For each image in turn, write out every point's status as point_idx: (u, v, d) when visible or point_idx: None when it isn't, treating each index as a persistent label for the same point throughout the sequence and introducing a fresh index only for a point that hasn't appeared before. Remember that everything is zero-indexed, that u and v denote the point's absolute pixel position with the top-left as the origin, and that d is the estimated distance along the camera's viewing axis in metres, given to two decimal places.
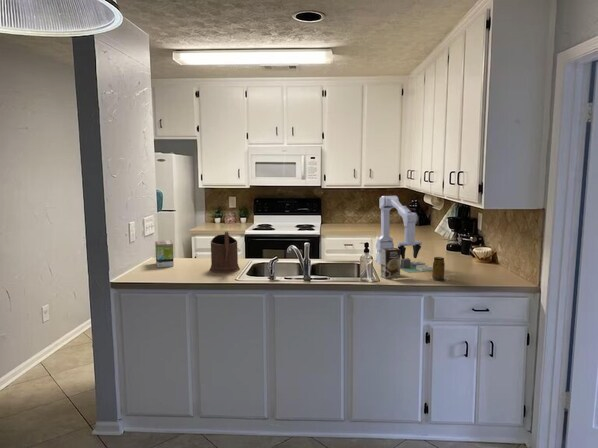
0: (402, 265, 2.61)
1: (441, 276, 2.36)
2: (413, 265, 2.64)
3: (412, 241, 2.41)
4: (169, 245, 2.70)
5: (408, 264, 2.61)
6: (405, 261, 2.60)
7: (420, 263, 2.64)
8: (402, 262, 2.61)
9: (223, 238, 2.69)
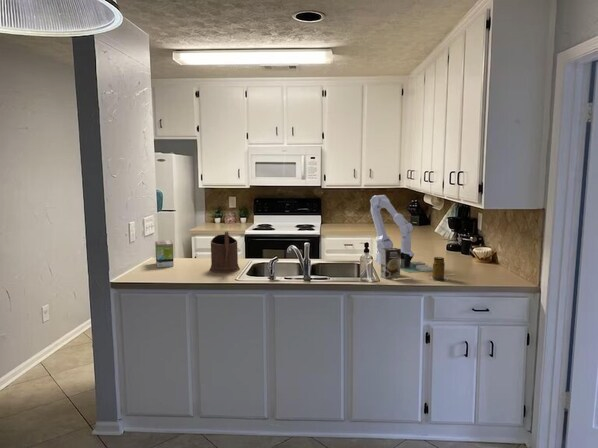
0: (402, 265, 2.61)
1: (441, 276, 2.36)
2: (413, 265, 2.64)
3: (401, 249, 2.60)
4: (169, 245, 2.70)
5: None
6: None
7: (420, 263, 2.64)
8: (402, 262, 2.61)
9: (223, 238, 2.69)
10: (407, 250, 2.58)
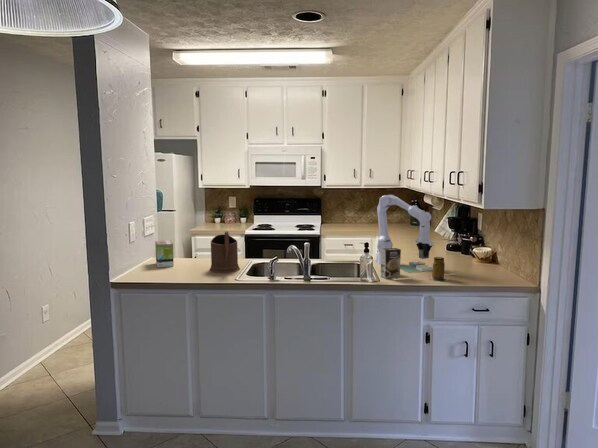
0: (421, 255, 2.55)
1: (441, 276, 2.36)
2: (413, 265, 2.64)
3: (420, 239, 2.54)
4: (169, 245, 2.70)
5: None
6: None
7: (420, 263, 2.64)
8: (421, 252, 2.55)
9: (223, 238, 2.69)
10: (426, 240, 2.53)
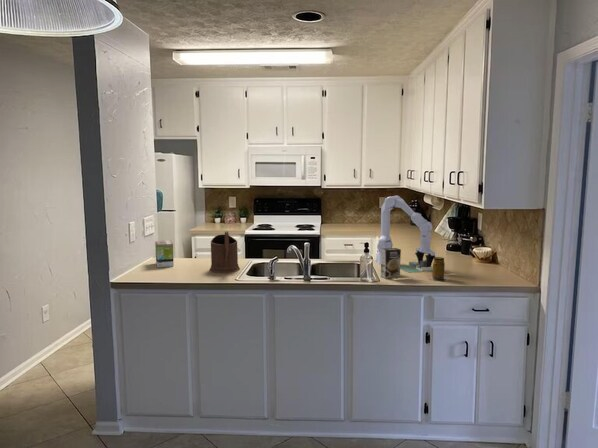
0: None
1: (441, 276, 2.36)
2: (413, 265, 2.64)
3: (421, 249, 2.55)
4: (169, 245, 2.70)
5: None
6: (425, 263, 2.55)
7: None
8: (422, 264, 2.56)
9: (223, 238, 2.69)
10: (427, 249, 2.53)
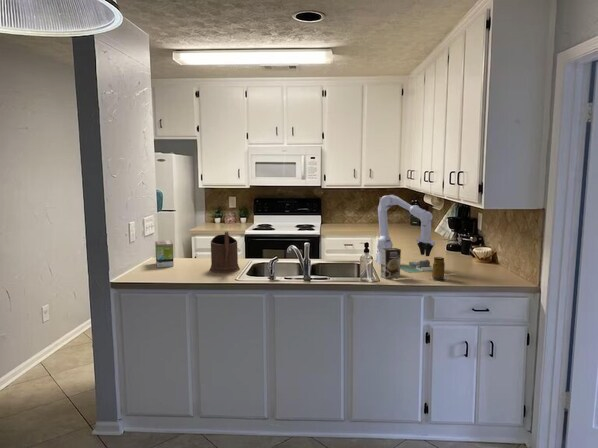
0: None
1: (441, 276, 2.36)
2: (413, 265, 2.64)
3: (421, 238, 2.54)
4: (169, 245, 2.70)
5: (427, 266, 2.56)
6: (425, 263, 2.55)
7: None
8: (422, 264, 2.56)
9: (223, 238, 2.69)
10: (427, 239, 2.52)
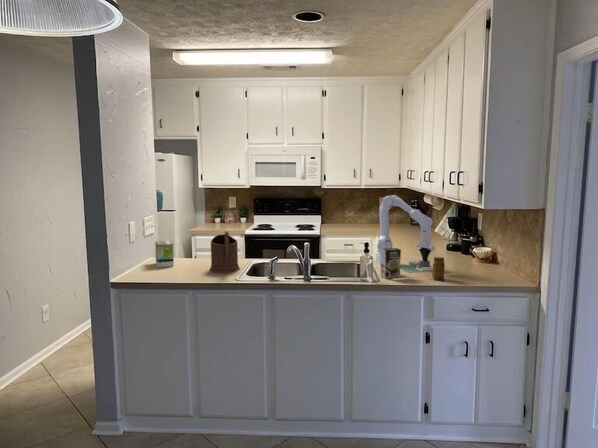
0: None
1: (441, 276, 2.36)
2: (413, 265, 2.64)
3: (421, 244, 2.54)
4: (169, 245, 2.70)
5: (427, 266, 2.56)
6: (425, 263, 2.55)
7: None
8: (422, 264, 2.56)
9: (223, 238, 2.69)
10: (427, 244, 2.53)
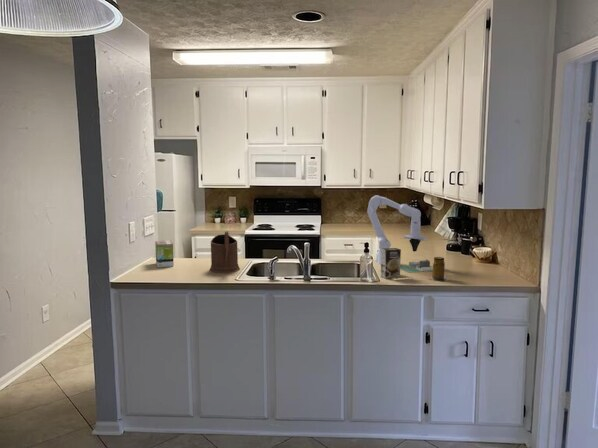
0: None
1: (441, 276, 2.36)
2: (413, 265, 2.64)
3: (412, 235, 2.63)
4: (169, 245, 2.70)
5: (427, 266, 2.56)
6: (425, 263, 2.55)
7: None
8: (422, 264, 2.56)
9: (223, 238, 2.69)
10: (418, 235, 2.63)
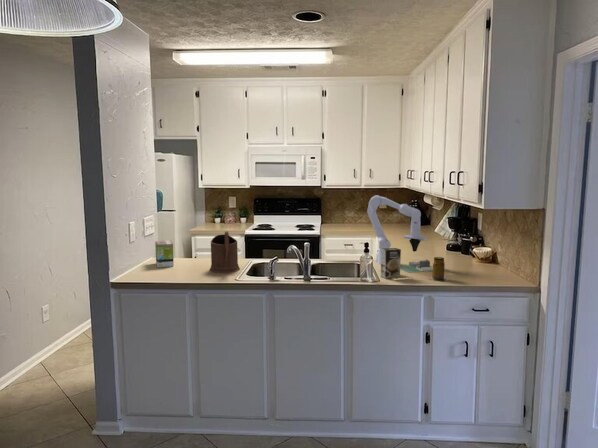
0: None
1: (441, 276, 2.36)
2: (413, 265, 2.64)
3: (412, 235, 2.63)
4: (169, 245, 2.70)
5: (427, 266, 2.56)
6: (425, 263, 2.55)
7: None
8: (422, 264, 2.56)
9: (223, 238, 2.69)
10: (418, 235, 2.63)
